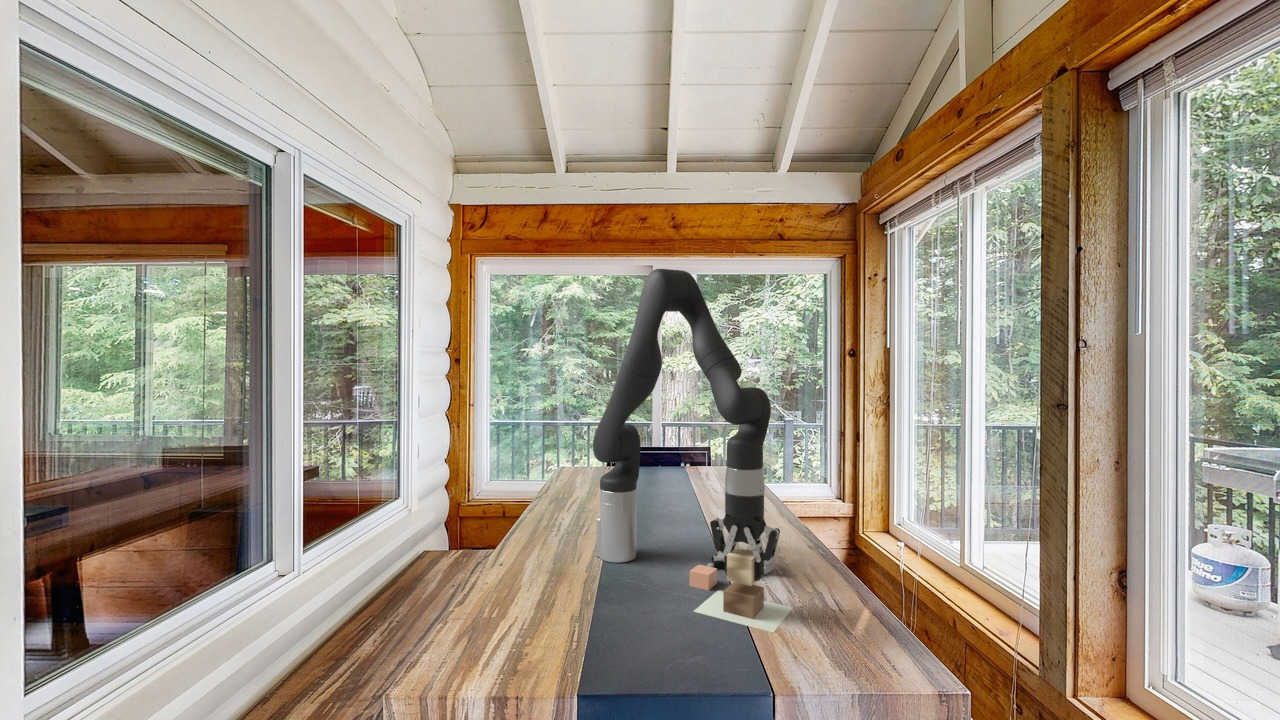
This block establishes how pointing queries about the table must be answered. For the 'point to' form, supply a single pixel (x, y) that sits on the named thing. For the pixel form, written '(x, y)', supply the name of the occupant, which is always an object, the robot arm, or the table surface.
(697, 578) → the terracotta block
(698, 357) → the robot arm
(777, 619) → the board
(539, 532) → the table surface
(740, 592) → the walnut block
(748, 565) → the maple block
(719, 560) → the robot toy
